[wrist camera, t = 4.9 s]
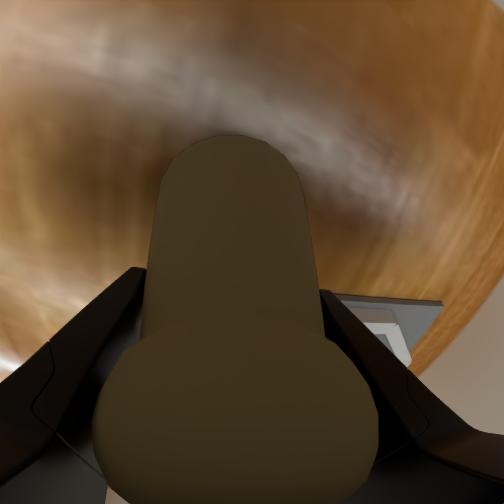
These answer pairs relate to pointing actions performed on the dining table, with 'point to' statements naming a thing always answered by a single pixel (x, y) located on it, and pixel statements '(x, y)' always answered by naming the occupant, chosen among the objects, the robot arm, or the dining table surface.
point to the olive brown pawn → (233, 350)
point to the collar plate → (394, 320)
